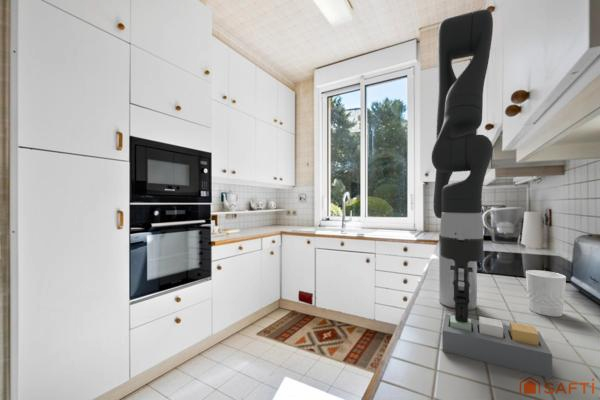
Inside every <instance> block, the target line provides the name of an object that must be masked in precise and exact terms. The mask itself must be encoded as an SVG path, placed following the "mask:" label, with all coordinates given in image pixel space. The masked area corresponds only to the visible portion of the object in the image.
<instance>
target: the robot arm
mask: <svg viewBox="0 0 600 400" xmlns="http://www.w3.org/2000/svg"><path fill="white" fill-rule="evenodd" d="M493 19H494V18H493V14H492V12H491V10H489V9H486V8H485V9H479V10H475V11H471V12H467V13H462V14H459V15H455V16H451V17H448V18H445V19H443V20H442V21H441V22H440V24H439V26H438V27H439V28H438V30H437V71H438V72H437V74H438V79H437V80H438V94H437V95H438V97H437V98H438V99H437V113H436V114H437V115H436V134H435V135H436V138H435V139H436V141H435V142H434V145H433V148H432V152H431V163H432V166H433V167H434V168H435V178H434V179H435V182H434V189H433V190H434V192H433V204H432V205H433V213H434V216H435V217H436V218H437V219H440V222H439V223H440V229H439V230H440V231H439V232H440V233H439V235H438V237H439V238H438V242H439V243H438V245H439V246H438V249H439V250H438V254H439V255H438V256H439V257H438V258H439V260H438V262H439V263H438V267H439V268H438V270H439V271H438V272H439V274H438V276H439V277H438V279H439V282H438V285H439V286H438V297H439V298H438V301H439V303H441V305H443V306H446V307H448V308H452V309H454V316H455V319H456V321H459V322H464V323H467V322H468V318H469V310H470V311H471V310H476V309H477V308H478V305H477V304H478V302H477V301H478V299H477V298H478V269H477V268H478V265H477V263H478V262H481V261H483V260H484V219H483V214H482V213H483V211H482V209H483V208H482V207H483V203H482V201H483V200H482V199H483V197H482V195H483V186H484V182H485V178H486V177H485V176H486V175H487V171H488V167H489V165H490V162H491V160H492V156H493V152H494V151H493V150H494V149H493V148H494V147H493V143H492V141H491V140H490V138H489V137H488V136H486V135H485V134H478V133H477V131H478V129H479V128H480V127H481V125H482V121H483V107H484V106H483V103H484V102H483V100H484V99H483V98H484V97H483V96H484V86H485V82H486V81H485V80H486V76H487V71H488V66H489V60H490V54H491V49H492V47H491V46H492V41H493V31H494V27H493V26H494V20H493ZM470 57H472V58H471V60H470V61H469V62H468V64H467V66H466V67H465V69H464V70H463V71H462V72H461V74H460V75H459V76H458V77H457V76H456V74H455V72H454V69H453V64H452V63H453V60H459V59H464V58H470ZM468 171H469V175H468V176H467V177H466V178H465V179H463V180H461V181H457V182H453V183H449V182H450V179H451V177H452V175H453V173H455V172H456V173H459V172H468Z"/></svg>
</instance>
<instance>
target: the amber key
mask: <svg viewBox="0 0 600 400" xmlns="http://www.w3.org/2000/svg"><path fill="white" fill-rule="evenodd" d="M509 326H510V334H511V337H512V340H515V341H519V342H524V343H529V344H534V345H539V334H538V332H539V331H538V330H537V329H536V327H535V326H534V325H527V324H522V323H517V322H513V321H510V322H509ZM537 331H538V332H537Z"/></svg>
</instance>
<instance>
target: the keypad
mask: <svg viewBox="0 0 600 400" xmlns="http://www.w3.org/2000/svg"><path fill="white" fill-rule="evenodd" d="M451 315H452V314H447V313H445V315H444V319H443V324H442V325H443V326H442V352H445V353H449V354H453V355H457V356H462V357H465V358H470V359H472V360H476V361H480V362H485V363H488V364H493V365H495V366H496V365H497V366H499V367H504V368H505V367H506V368H508V369H513V370H516V371H521V372H525V373H529V374H533V375H537V376H539V377H545V378H549V379H553V354H552V353H553V352H551V350H550V348H549V346H548V345H547V343H546V340H544V338H543V335H542V334H541V332H540V331H538V330H536V331H537V332H538V334H539V345H534V344H529V343H524V342H519V341H515V340H512V337H511V334H510V325H505V324H502V325H503V338H500V337H496V336H491V335H486V334H481V333H480V330H479V319H473V318H470V319H471V331H467V330H462V329H457V328H453V327H450V318H451Z"/></svg>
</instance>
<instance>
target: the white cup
mask: <svg viewBox="0 0 600 400" xmlns="http://www.w3.org/2000/svg"><path fill="white" fill-rule="evenodd" d="M525 280H526V294H527V300H528V301H527V303H528V309H529V310H530V311H532V312H533V313H535V314H539V315H542V316H547V317H562V316H564V305H565V297H566V280H567V276H566V275H564V274H562V273H558V272H553V271H548V270H536V269H530V270H529V269H528V270H526V271H525Z"/></svg>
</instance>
